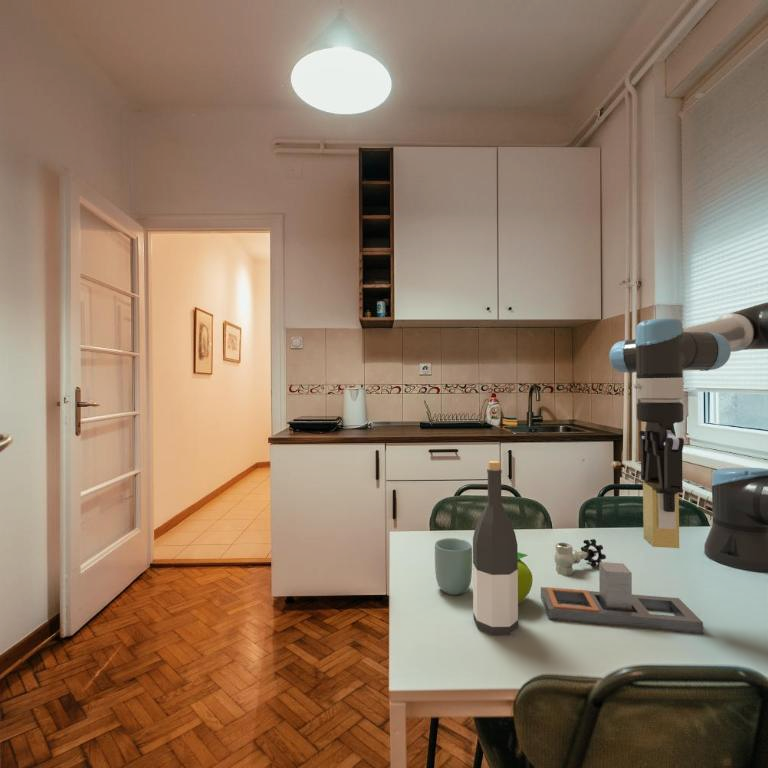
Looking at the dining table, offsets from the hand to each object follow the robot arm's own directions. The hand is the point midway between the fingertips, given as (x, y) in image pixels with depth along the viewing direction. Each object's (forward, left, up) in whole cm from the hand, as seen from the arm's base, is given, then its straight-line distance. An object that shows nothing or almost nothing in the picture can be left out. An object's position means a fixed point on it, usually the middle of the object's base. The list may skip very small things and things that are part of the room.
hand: (660, 523), depth 83 cm
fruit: (+28, -1, -18) cm, 33 cm away
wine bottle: (+31, +8, -18) cm, 37 cm away
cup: (+39, -4, -18) cm, 43 cm away
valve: (+10, -20, -18) cm, 29 cm away
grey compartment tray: (+8, 0, -18) cm, 20 cm away
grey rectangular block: (+8, 0, -18) cm, 20 cm away
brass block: (0, 0, -4) cm, 4 cm away
